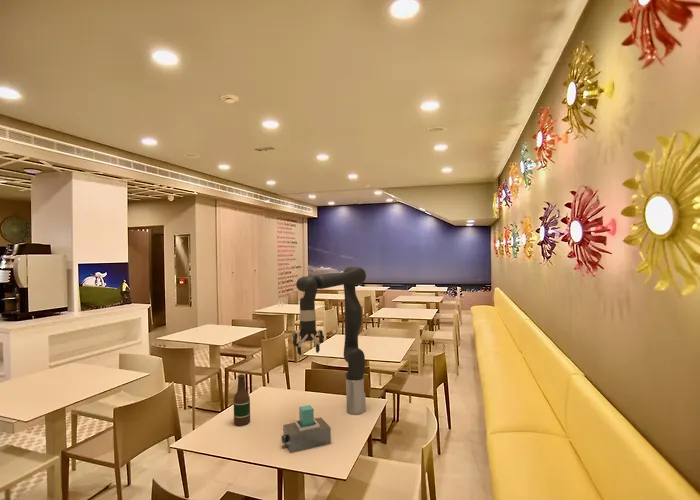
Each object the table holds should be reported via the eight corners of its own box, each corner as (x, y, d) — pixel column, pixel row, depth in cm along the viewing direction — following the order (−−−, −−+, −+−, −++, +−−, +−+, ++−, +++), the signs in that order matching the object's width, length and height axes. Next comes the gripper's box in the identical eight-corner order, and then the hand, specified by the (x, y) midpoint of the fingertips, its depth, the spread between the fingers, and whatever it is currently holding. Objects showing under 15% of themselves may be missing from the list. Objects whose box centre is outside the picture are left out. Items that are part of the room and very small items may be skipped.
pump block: (310, 422, 176) (310, 404, 176) (313, 427, 172) (313, 408, 172) (299, 425, 174) (299, 406, 174) (302, 429, 170) (302, 410, 170)
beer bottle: (241, 428, 188) (240, 378, 189) (230, 425, 193) (229, 375, 193) (253, 422, 195) (252, 373, 196) (242, 419, 199) (241, 371, 200)
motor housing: (321, 432, 182) (321, 414, 182) (330, 443, 171) (330, 424, 171) (279, 441, 174) (278, 422, 174) (285, 453, 163) (285, 433, 163)
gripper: (319, 316, 192) (320, 350, 192) (290, 319, 186) (291, 353, 186) (324, 318, 185) (325, 353, 185) (295, 321, 179) (296, 357, 179)
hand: (308, 353), depth 185 cm, fingers open, 8 cm apart
